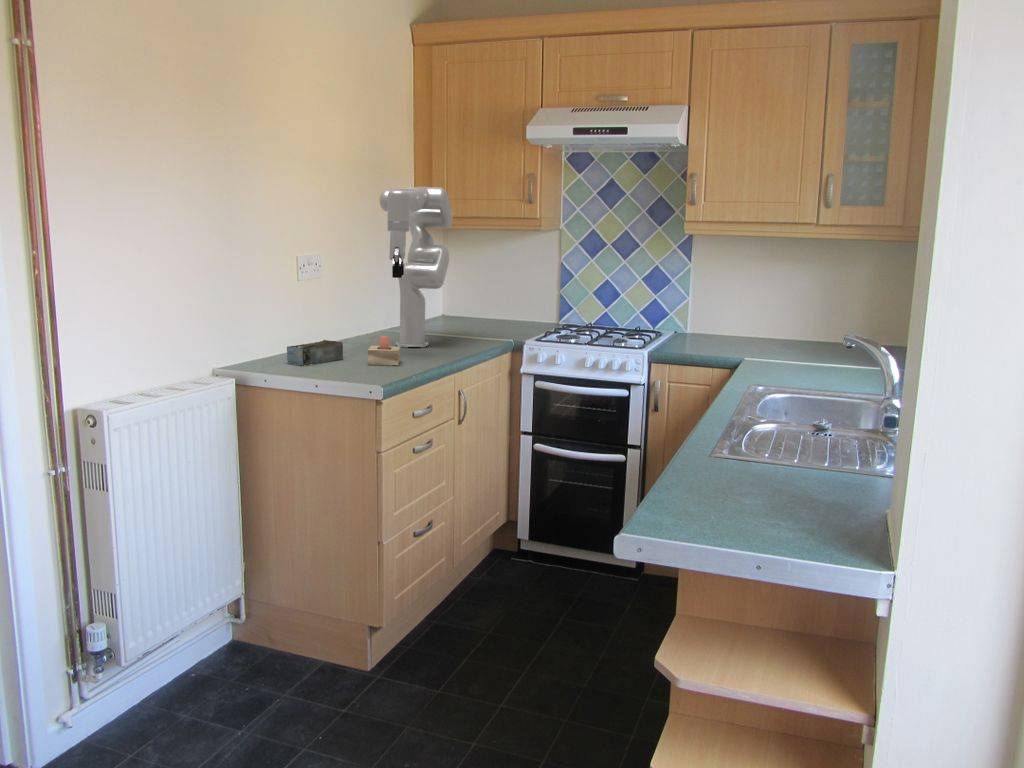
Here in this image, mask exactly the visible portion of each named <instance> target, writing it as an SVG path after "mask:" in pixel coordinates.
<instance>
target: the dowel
mask: <svg viewBox="0 0 1024 768" xmlns="http://www.w3.org/2000/svg"><path fill="white" fill-rule="evenodd" d="M379 346H380V349H387V350H389V346H390V336H389V335H379Z"/></svg>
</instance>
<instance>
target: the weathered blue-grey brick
mask: <svg viewBox="0 0 1024 768" xmlns="http://www.w3.org/2000/svg"><path fill="white" fill-rule="evenodd" d="M340 360H344V346H343V341H336V340H328V339H327V340H326V339H324V340H320V341H315V342H310V343H305V344H297V345H291V346H286V361H287V364H288V363H292V364H291V365H293V364H297V365H296V366H299V365H302V366H301V367H305V366H304V365H307V366H311V365H310V364H313V365H318V364H317V363H319V364H322V363H323V362H325V363H329V361H330V362H335V361H340ZM323 364H324V363H323Z"/></svg>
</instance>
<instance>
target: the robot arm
mask: <svg viewBox="0 0 1024 768" xmlns="http://www.w3.org/2000/svg"><path fill="white" fill-rule="evenodd" d="M379 206H380V208H381V209H382V210H383V211H384V212H387V232H390V233H389V254H388V255H389V257H388V258H389V260H390V261H392V269H391V270H392V275H391V276H392V277H391V278H392V279H393V278H395V279H396V278H397V279H398V283H399V285H398V286H399V297H400V298H399V302H400V303H399V340H398V341H397V340H396V341H395V346H396V345H397V346H400V348H408V347H421V348H426V346H427V347H429V346H428V345H429V342H427V341H425V340H426V339H425V338H426V336H425V335H426V334H425V333H426V330H425V329H426V298H425V296H424V294H423V293H422V291H421V290H420V289H428V290H431V289H432V290H435V289H436V290H439V289H440V288H442V286H443V285H444V282H445V279H446V275H447V271H448V266H449V261H450V252H449V250H448V248H447V247H446V246H445V245H441V244H435V240H434V238H433V236H432V235H431V233H430V232H429V231H428V230H426V229H438V230H439V229H440V230H442V229H443V230H444V229H450V227H451V226H452V225H453V217H454V216H453V211H452V206H451V202H450V199H449V196H448V193H447V191H446V189H444V187H439V186H415V187H404V188H403V187H402V188H389V189H388V188H387V189H384V190H383V191H382V192H381V193H380V196H379ZM408 232H410V236H411V242H410V246H409V249H408V253H407V258H406V249H407V248H406V246H407V244H406V242H407V241H406V240H407V239H406V238H407V237H406V236H407V233H408ZM405 258H406V260H407V262H405V263H404V260H405Z"/></svg>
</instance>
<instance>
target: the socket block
mask: <svg viewBox="0 0 1024 768" xmlns="http://www.w3.org/2000/svg"><path fill="white" fill-rule="evenodd" d="M399 362H400V363H401V347H400V346H396V345H395V346H393V345H389V350H387V349H380V345H370V346H369V347H368V349H367V366H381V365H398V366H399V365H400V363H399Z"/></svg>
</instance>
